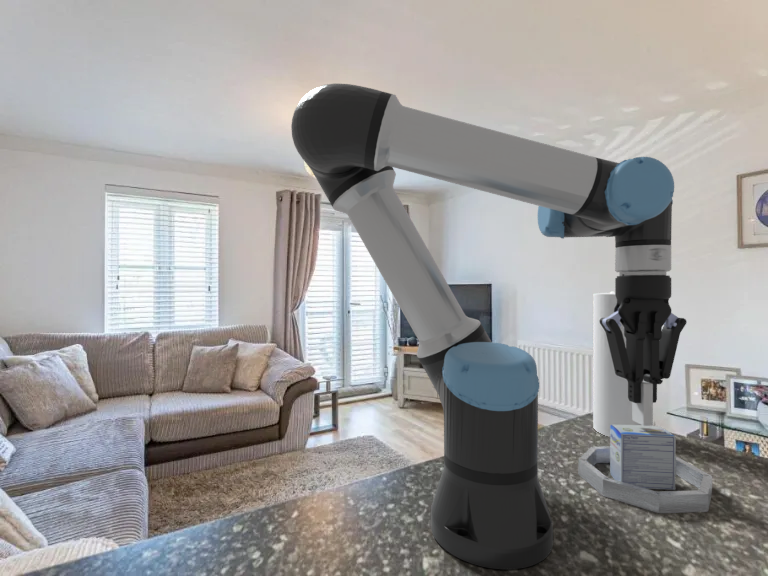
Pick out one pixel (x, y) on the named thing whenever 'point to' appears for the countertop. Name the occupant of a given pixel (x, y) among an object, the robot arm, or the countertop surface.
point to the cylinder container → (607, 373)
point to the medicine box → (643, 456)
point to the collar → (646, 497)
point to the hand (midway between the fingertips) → (642, 422)
